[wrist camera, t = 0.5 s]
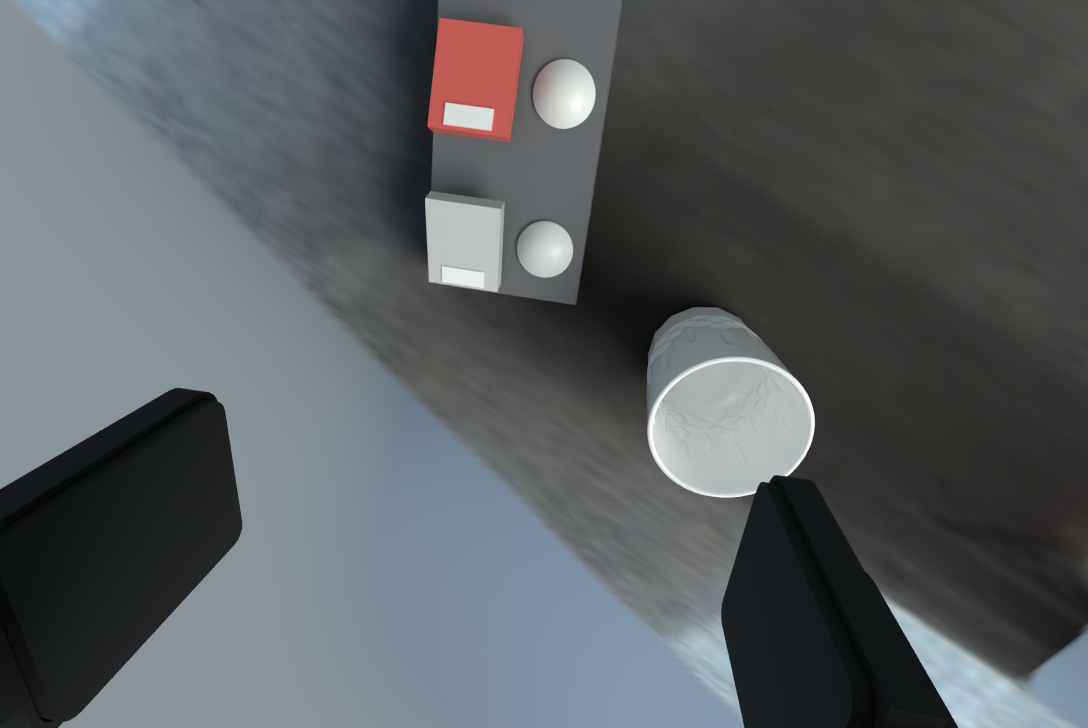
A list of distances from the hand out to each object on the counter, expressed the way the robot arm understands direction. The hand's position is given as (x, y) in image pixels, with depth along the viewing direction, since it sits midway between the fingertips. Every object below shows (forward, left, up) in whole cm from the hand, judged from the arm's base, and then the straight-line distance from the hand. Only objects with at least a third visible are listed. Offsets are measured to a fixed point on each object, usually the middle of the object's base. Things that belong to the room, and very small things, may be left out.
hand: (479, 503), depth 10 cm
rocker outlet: (0, -6, -22) cm, 23 cm away
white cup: (+6, +9, -27) cm, 29 cm away
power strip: (-10, -4, -27) cm, 29 cm away
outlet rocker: (-8, -6, -22) cm, 24 cm away
